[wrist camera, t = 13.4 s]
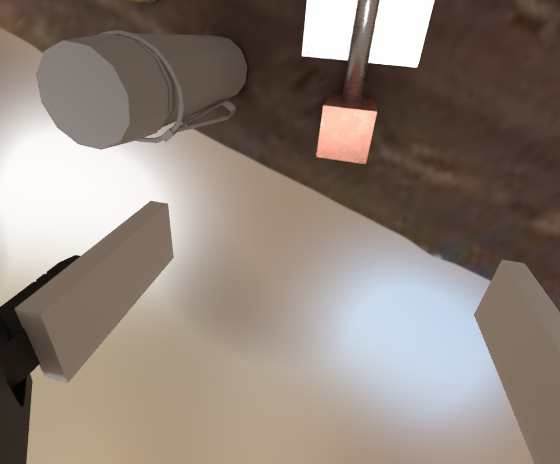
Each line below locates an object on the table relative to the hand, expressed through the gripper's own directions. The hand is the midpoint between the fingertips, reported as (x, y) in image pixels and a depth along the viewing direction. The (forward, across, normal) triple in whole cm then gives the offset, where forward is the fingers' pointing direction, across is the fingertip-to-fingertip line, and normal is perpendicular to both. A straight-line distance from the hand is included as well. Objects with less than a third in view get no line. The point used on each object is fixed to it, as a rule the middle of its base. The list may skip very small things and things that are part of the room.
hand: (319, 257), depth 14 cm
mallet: (+31, 0, +9) cm, 33 cm away
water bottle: (+34, -16, +2) cm, 37 cm away
